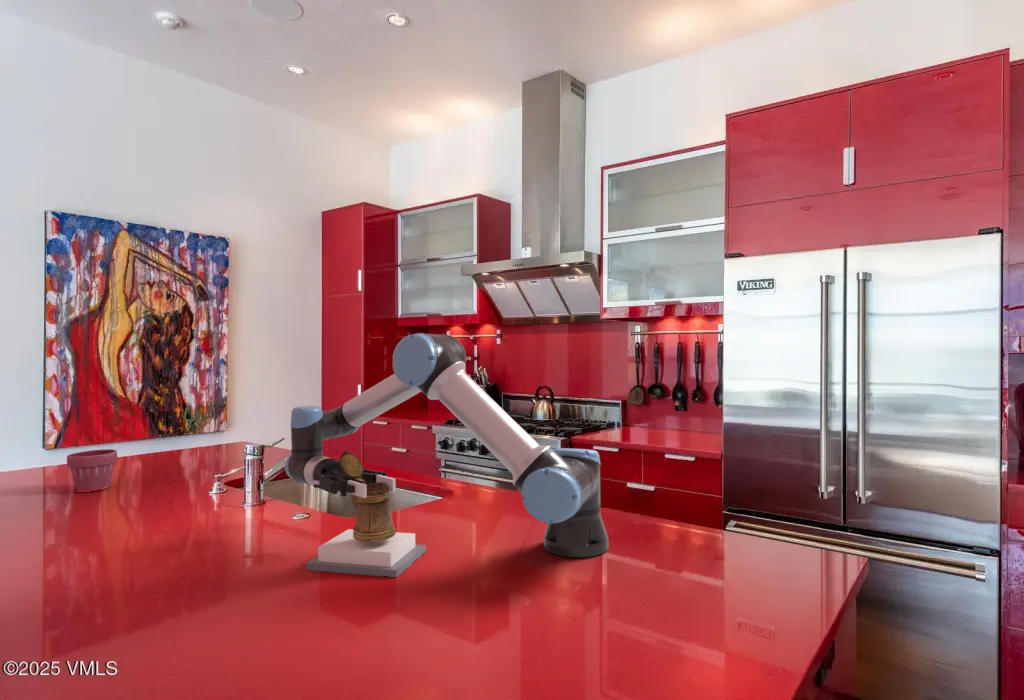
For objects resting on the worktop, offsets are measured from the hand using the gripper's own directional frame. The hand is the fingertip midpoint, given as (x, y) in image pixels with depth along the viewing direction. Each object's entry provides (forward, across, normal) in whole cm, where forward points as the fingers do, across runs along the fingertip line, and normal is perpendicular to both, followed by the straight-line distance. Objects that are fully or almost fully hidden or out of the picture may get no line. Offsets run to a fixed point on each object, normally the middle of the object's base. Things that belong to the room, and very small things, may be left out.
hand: (379, 488), depth 130 cm
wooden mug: (-5, 0, -11) cm, 12 cm away
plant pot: (-136, +26, -17) cm, 139 cm away
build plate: (-5, 0, -17) cm, 18 cm away
